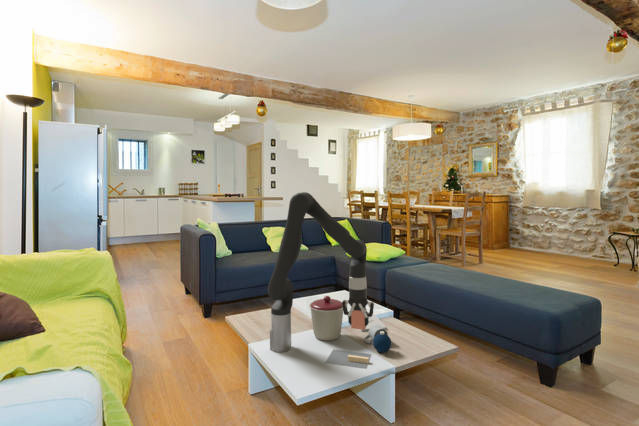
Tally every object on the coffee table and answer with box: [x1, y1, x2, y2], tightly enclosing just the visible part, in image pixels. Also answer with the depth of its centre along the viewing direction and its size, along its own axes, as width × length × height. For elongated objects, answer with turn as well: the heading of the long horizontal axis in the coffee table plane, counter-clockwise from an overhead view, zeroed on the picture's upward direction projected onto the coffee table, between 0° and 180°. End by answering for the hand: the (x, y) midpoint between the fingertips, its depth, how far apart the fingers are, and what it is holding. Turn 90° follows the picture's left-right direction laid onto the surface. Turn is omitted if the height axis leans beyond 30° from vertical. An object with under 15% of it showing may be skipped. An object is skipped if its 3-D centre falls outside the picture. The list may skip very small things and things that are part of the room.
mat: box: [324, 349, 373, 370], centre depth 162 cm, size 18×14×2 cm
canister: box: [308, 295, 344, 342], centre depth 186 cm, size 18×18×21 cm
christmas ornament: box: [372, 331, 392, 353], centre depth 169 cm, size 8×8×10 cm
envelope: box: [359, 311, 387, 333], centre depth 206 cm, size 24×2×14 cm
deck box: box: [350, 309, 366, 330], centre depth 159 cm, size 6×2×8 cm, turn 72°
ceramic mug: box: [363, 325, 389, 345], centre depth 180 cm, size 11×8×8 cm
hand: (358, 324), depth 159 cm, fingers closed on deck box, 6 cm apart
